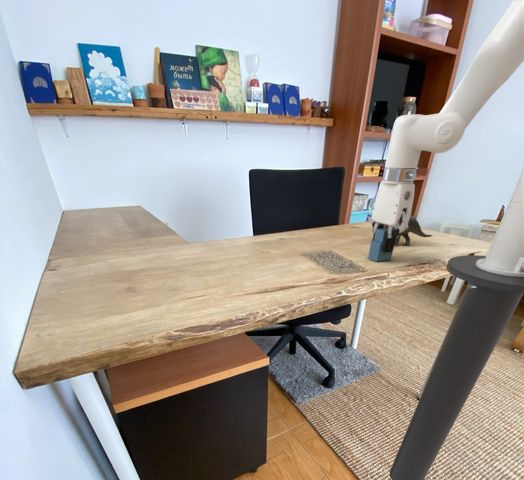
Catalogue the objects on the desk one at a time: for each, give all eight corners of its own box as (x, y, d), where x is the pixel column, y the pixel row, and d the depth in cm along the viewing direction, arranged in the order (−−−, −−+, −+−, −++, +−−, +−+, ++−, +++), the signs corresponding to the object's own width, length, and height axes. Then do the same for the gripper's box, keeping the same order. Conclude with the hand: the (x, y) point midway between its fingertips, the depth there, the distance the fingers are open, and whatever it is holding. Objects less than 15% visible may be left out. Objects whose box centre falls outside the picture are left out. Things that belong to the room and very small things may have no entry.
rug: (333, 274, 74) (334, 270, 74) (301, 253, 90) (301, 250, 89) (366, 270, 77) (367, 267, 76) (330, 251, 92) (330, 248, 92)
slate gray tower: (392, 260, 85) (398, 230, 81) (378, 261, 84) (384, 231, 79) (381, 256, 89) (387, 227, 84) (368, 258, 87) (373, 228, 83)
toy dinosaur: (429, 247, 99) (441, 210, 93) (422, 252, 94) (434, 213, 88) (367, 237, 111) (374, 204, 105) (358, 240, 105) (364, 206, 99)
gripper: (436, 178, 69) (413, 256, 79) (387, 174, 83) (373, 242, 93) (411, 178, 67) (391, 259, 77) (365, 175, 80) (353, 243, 90)
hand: (381, 249), depth 85 cm, fingers closed on slate gray tower, 4 cm apart
